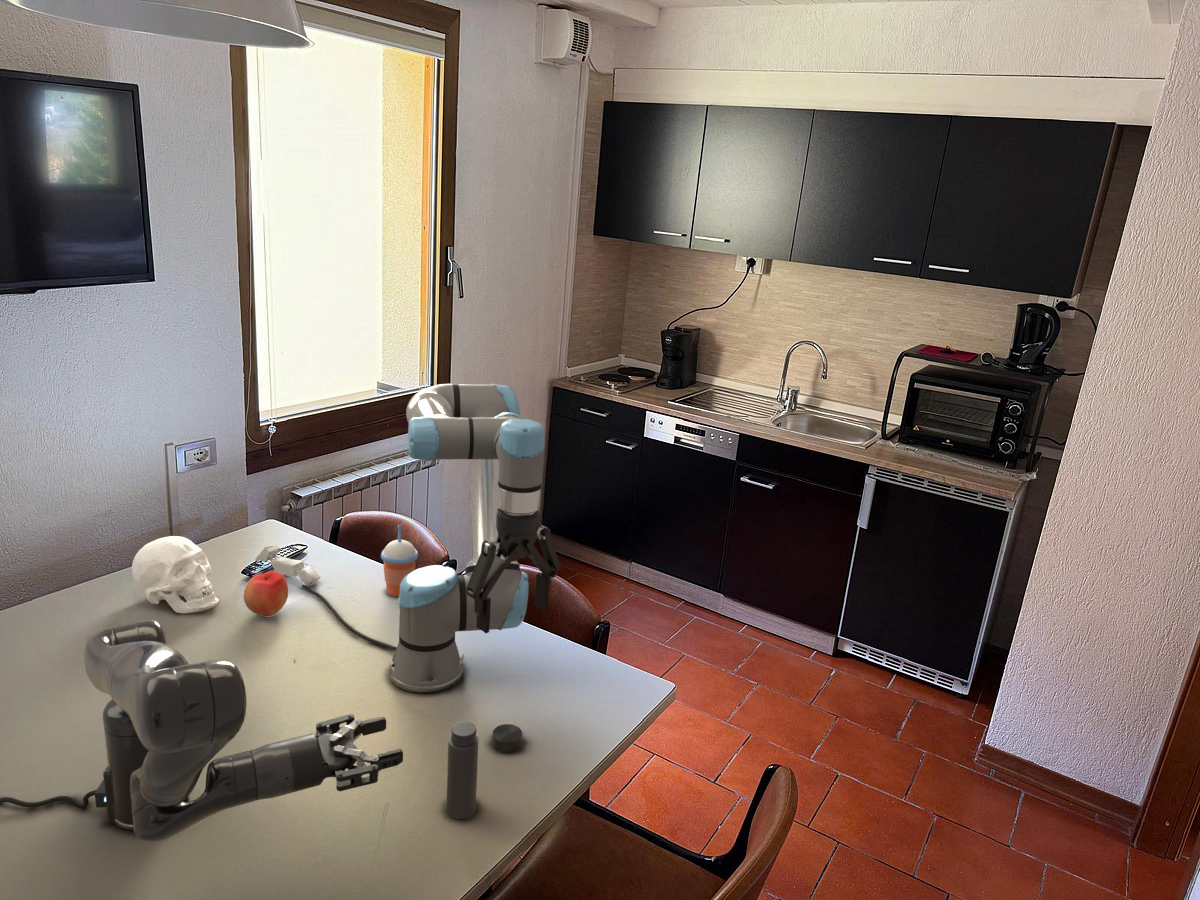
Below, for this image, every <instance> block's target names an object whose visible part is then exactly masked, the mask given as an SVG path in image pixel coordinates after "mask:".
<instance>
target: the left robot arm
mask: <svg viewBox="0 0 1200 900" xmlns="http://www.w3.org/2000/svg"><path fill="white" fill-rule="evenodd" d="M83 663H84V668H85V671H86V674H87V677H88V679H89V681H90V682H91V684H92V685H93V687H94V688H95V689H96V690H97V691H99V692H100V693H103V694H106V695H108V696H110V698H111V699H110V700H109V701H108V702H107V703H106V705H105V707H104V709H103V712H102V724H103V731H104V740H105V748H106V758H107V766H106V768H105V769H104V771H103V772H102V774H103V775H102V776H103V780H102V781H101V783H100V785H98V787H97V789H94V790H92V791H88V792H87V793H86V794H84V796H83V797H82V801H79V800H78V799H77V798H75V797H72V796H69V795H59V796H53V797H51V798H48V799H44V800H40V801H33V802H32V801H31V802H29V801H23V800H20V799H17V798H14V797H10V796H4V797H0V804H2V803H9V804H13V805H15V806H19V807H23V808H39V807H43V806H46V805H49V804H53V803H57V802H58V803H59V802H68V803H71V804H72V805H74V806H75V807H78V808H81V809H84V808H87V807H88V806H89V805H90V804H89V799H90V798H91V797H94V801H95V808H99V809H101V808H102V809H103V808H105V809H106V813H107V822H108V824H115V825H116V826H117V827H119V828H121V829H122V830H127V831H134V835H135V836H136V838H138V839H139V840H140V841H143V842H145V843H146V842H147V843H160V842H163V841H164V842H165V841H167V840H170V839H172V838H173V837H175V836H177V835H179V834H181V833H182V832H185V831H186V830H188V829H189V828H191V827H192V826H194V825H196V824H198V823H200V822H201V821H203V820H206V819H208V818H210V817H211V816H213V815H216V814H219V813H221V812H223V811H225V810H228V809H231V808H235V807H239V806H242V805H246V804H249V803H253V802H256V801H261V800H262V801H263V800H269V799H274V798H278V797H281V796H285V795H289V794H293V793H297V792H299V791H303V790H307V789H310V788H315V787H318V786H320V785H322V784H323V782H324V780H326V779H327V778H335V781H336V783H335V785H336V786H335V787H336V789H335V790H336V791H337V792H343V791H349V790H351V789H356V788H361V787H364V786H368V785H373V784H376V783H377V782H378V781H379V773H380V771H383V770H386V769H389V768H393V767H396V766H399V765H400V764H402V763H403V761H404V752H403V750H402V749H401V748H397V749H393V750H389V751H386V752H382V753H379V754H377V755H373V754H368V753H366V752H365V751H364V750H361V749H358V748H357V746H356V745H355V744H354V742H355V741H356V740H358V738H359V737H361V736H363V737H364V736H368V735H373V734H377V733H380V732H384V731H386V729H387V719H386V717H385V716H379V717H378V716H377V717H374V718H369V719H364V720H361V719H358V718H357V719H356V718H355V714H353V713H349V714H345V715H341V716H338V717H333V718H330V719H327V720H322V721H319V722H317V723H315V733H308V734H304V735H300V736H296V737H292V738H288V739H283V740H279V741H275V742H272V743H268V744H264V745H262V746H259V747H256V748H254V749H250V750H247V751H243V752H242V751H241V752H239V753H235V754H230V755H226V756H222V757H218V758H215V759H214V760H213V758H214V757H215V756H216V755H217V754H218V753H219V752H220V751H222V749H223V748H224V747H225V746H226V745H227V744H228V743H229V742H230V741H231V740H233V739H234V738H235V737H236V736H237V734H238V733H239V732H240V731H241V729H242V727H243V724H244V722H245V719H246V714H247V706H248V705H247V703H248V701H247V690H246V686H245V682H244V678H243V676H242V673H241V671H240V669H239V668H238V666H237V665H236V664H235V663H234V662H231V661H230V660H227V659H213V660H206V661H200V662H196V663H195V662H194V663H190V664H189V662H188V660H187V659H186V658H185V656H184V655H183V654H182V653H180V651H178V650H176V649H175V648H173V647H172V646H170V645H168V639H167V635H166V632H165V630H164V628H163V626H162V625H161V624H160V622H158V621H157V620H154V619H147V620H142V621H138V622H133V623H129V624H124V625H119V626H115V627H112V628H107V629H103V630H100V631H97V632H96V633H93V634H92V635H91V636H90V637H89V638H88V640H87V642H86V644H85V648H84V653H83ZM342 724H345V725H342ZM340 725H342V726H340ZM366 763H369V765H368V764H366ZM355 764H356V765H355ZM206 766H207V767H206ZM205 767H206V773H205V786H204V791H203V792H202V794H201V795H200V796H198V797H197V798H196V799H194V800H192V801H190V795H191V793H192V792H193V791H194V789H195V787H196V785H197V783H198V781H199V779H200V778H201V777H200V776H201V774H202V772H203V770H204V768H205ZM364 775H368V776H364ZM363 776H364V777H363Z"/></svg>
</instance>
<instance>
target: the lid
mask: <svg viewBox="0 0 1200 900" xmlns="http://www.w3.org/2000/svg"><path fill="white" fill-rule="evenodd" d="M522 743H523V730H522V729H521V728H520V727H519V726H517V725H515V724H511V723H504V724H499V725H497V726H496V727H495V728H493V730H492V738H491V746H492V748H493V749H494V750H495V751H497V752H499V753H503V754H510V753H514V752H517V751H518V750H520V749H521V747H522V745H523V744H522Z"/></svg>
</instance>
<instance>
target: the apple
mask: <svg viewBox="0 0 1200 900" xmlns="http://www.w3.org/2000/svg"><path fill="white" fill-rule="evenodd" d="M288 597H289V584H288V581H287V579H286V577H285V575H282V574H281V573H278V572H275V571H268V570H267V571H266V572H264V573H259V574H255V575H254V576H253V577H251V578H250V579H249V580H248V582H247V583H246V585H245V587H244V590H243V601H244V604H245V607H247V609H248V610H249V611H250V612H252V613H253V614H255V615H257V616H261V617H265V618H269V617H273V616H275V615H276V614H278V613H279V612H280V611H281V610H282V609H283V607H284V606H285V605H286V603H287V600H288Z"/></svg>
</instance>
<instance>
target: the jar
mask: <svg viewBox="0 0 1200 900" xmlns="http://www.w3.org/2000/svg"><path fill="white" fill-rule="evenodd" d="M477 733H478V732H477V727H476V725H475V724H474V723H473V722H471V721H464V720H463V721H458V722H456V723H454V724H453V725H452V726H451V734H450V736H449V737H448V740H447V741H448V742H447V769H446V770H447V772H446V774H447V775H446V805H445V807H446V809H445V810H446V813H447V815H448V816H449V817H450V818H452V819H456V820H466V819H468V818H470V817H472V816H473V815H474V814H475V813H476V811H477V810H476V809H477V790H478V789H477V788H478V763H479V736H478V734H477Z"/></svg>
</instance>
